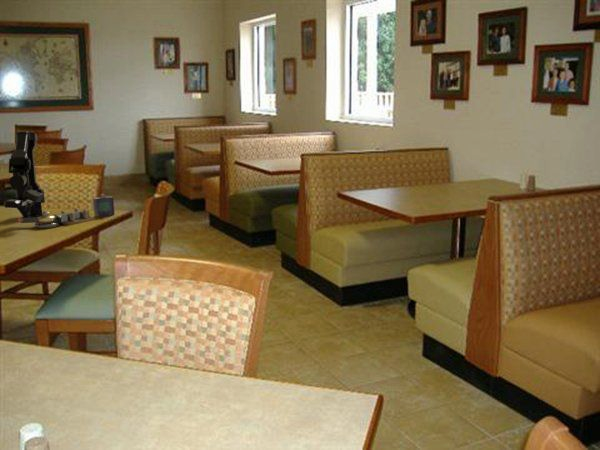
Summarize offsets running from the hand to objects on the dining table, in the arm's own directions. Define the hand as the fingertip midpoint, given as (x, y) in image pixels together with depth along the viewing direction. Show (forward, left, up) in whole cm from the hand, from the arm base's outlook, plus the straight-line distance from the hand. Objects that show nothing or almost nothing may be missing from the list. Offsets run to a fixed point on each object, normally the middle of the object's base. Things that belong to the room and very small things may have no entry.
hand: (26, 219), depth 271 cm
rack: (+10, +18, -3) cm, 21 cm away
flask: (+12, +33, -3) cm, 35 cm away
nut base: (+8, +5, -3) cm, 10 cm away
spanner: (+10, +16, -2) cm, 19 cm away
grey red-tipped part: (+5, +2, -1) cm, 5 cm away
